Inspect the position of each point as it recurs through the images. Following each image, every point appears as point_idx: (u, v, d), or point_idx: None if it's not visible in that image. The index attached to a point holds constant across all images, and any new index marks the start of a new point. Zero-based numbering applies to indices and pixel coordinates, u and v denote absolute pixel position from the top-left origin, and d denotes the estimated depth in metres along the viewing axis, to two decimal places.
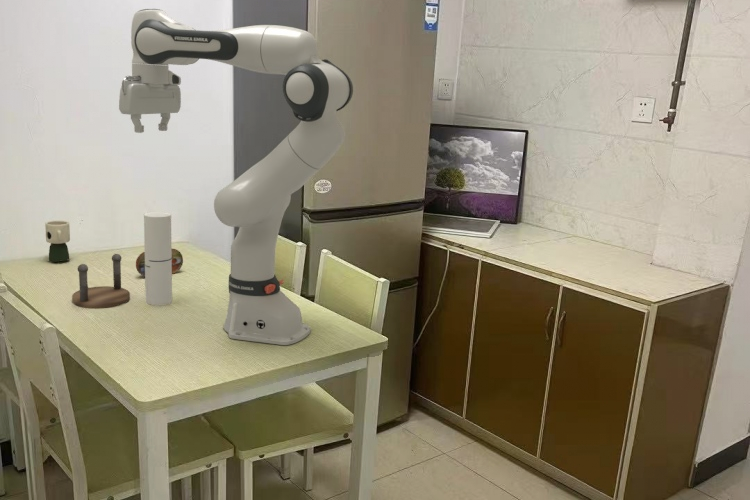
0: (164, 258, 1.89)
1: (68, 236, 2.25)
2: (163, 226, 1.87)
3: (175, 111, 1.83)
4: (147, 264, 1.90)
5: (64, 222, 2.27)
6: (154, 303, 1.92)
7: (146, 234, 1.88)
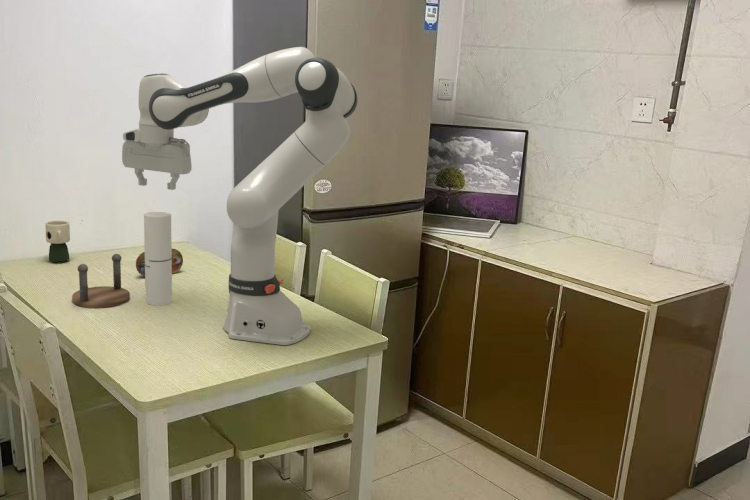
0: (164, 258, 1.89)
1: (68, 236, 2.25)
2: (163, 226, 1.87)
3: None
4: (147, 264, 1.90)
5: (64, 222, 2.27)
6: (154, 303, 1.92)
7: (146, 234, 1.88)
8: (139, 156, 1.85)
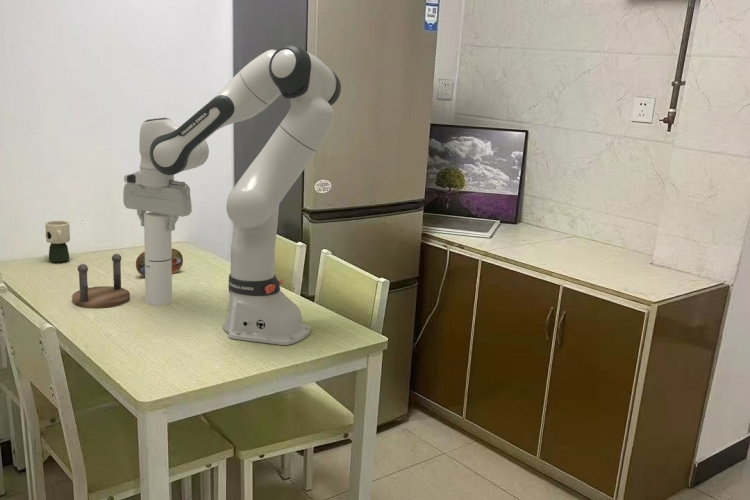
0: (164, 258, 1.89)
1: (68, 236, 2.25)
2: (163, 227, 1.87)
3: None
4: (147, 264, 1.90)
5: (64, 222, 2.27)
6: (154, 303, 1.92)
7: (146, 234, 1.88)
8: (140, 198, 1.88)
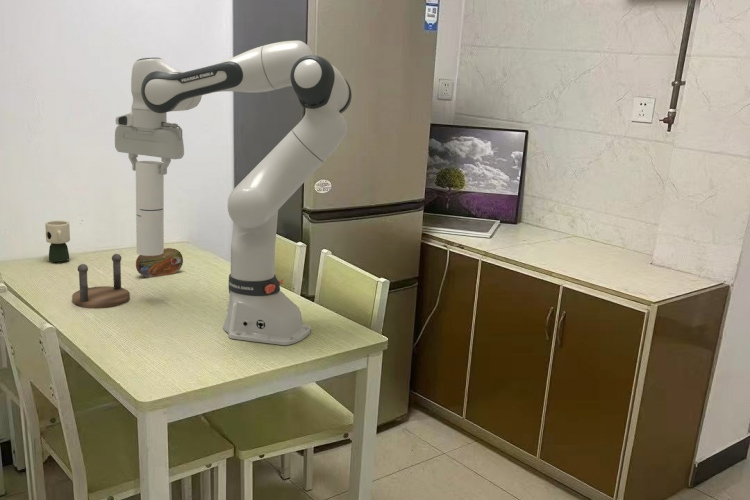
0: (156, 207, 1.86)
1: (68, 236, 2.25)
2: (155, 175, 1.84)
3: None
4: (138, 213, 1.86)
5: (64, 222, 2.27)
6: (145, 254, 1.88)
7: (137, 182, 1.84)
8: (131, 141, 1.84)
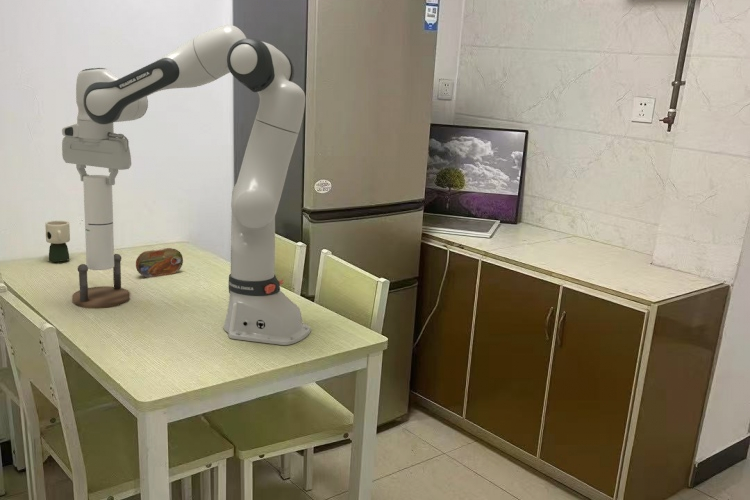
0: (104, 222, 1.85)
1: (68, 236, 2.25)
2: (103, 189, 1.83)
3: None
4: (87, 228, 1.85)
5: (64, 222, 2.27)
6: (94, 268, 1.87)
7: (85, 197, 1.84)
8: (78, 152, 1.83)
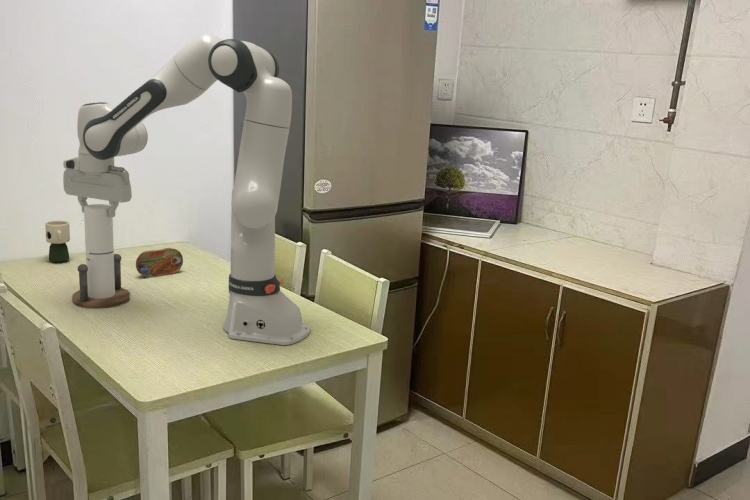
0: (104, 251, 1.87)
1: (68, 236, 2.25)
2: (103, 219, 1.85)
3: None
4: (87, 257, 1.87)
5: (64, 222, 2.27)
6: (95, 296, 1.89)
7: (86, 226, 1.86)
8: (80, 184, 1.85)
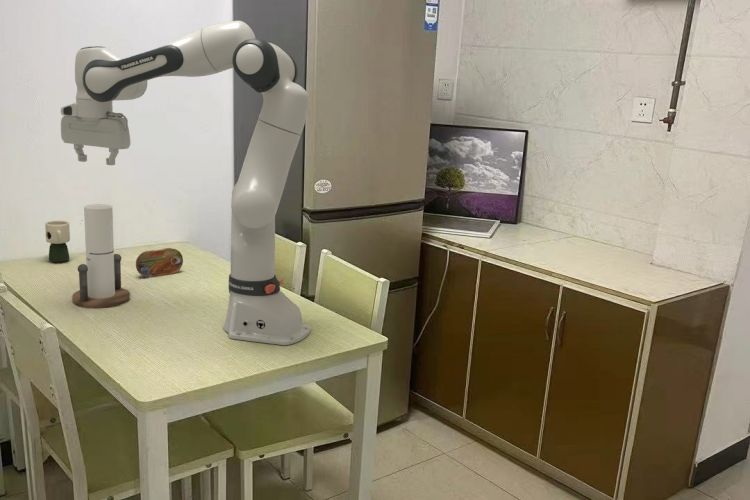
0: (104, 251, 1.87)
1: (68, 236, 2.25)
2: (103, 219, 1.85)
3: None
4: (87, 257, 1.87)
5: (64, 221, 2.27)
6: (95, 296, 1.89)
7: (86, 226, 1.85)
8: (77, 132, 1.82)
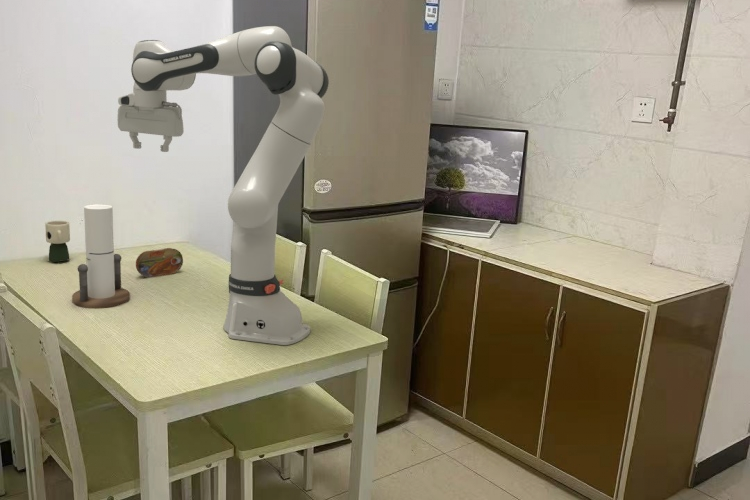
0: (104, 251, 1.87)
1: (68, 236, 2.25)
2: (103, 219, 1.85)
3: None
4: (87, 257, 1.87)
5: (64, 222, 2.27)
6: (95, 296, 1.89)
7: (86, 226, 1.85)
8: (133, 120, 1.94)
